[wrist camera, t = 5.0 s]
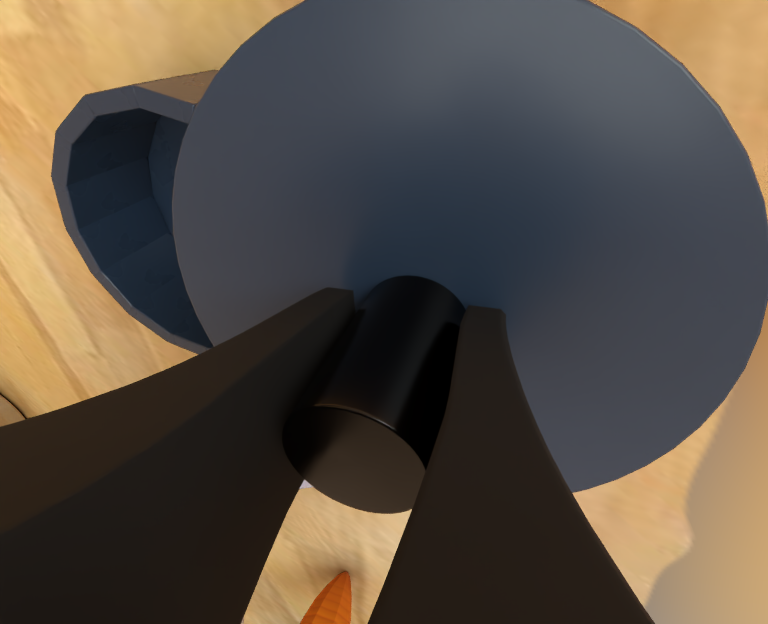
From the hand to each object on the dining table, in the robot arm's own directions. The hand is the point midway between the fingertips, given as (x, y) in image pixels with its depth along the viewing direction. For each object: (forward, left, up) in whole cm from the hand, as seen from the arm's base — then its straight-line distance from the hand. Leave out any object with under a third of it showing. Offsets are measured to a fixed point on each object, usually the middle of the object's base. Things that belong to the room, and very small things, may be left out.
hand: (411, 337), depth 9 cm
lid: (0, 0, -1) cm, 1 cm away
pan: (-10, +4, -10) cm, 15 cm away
